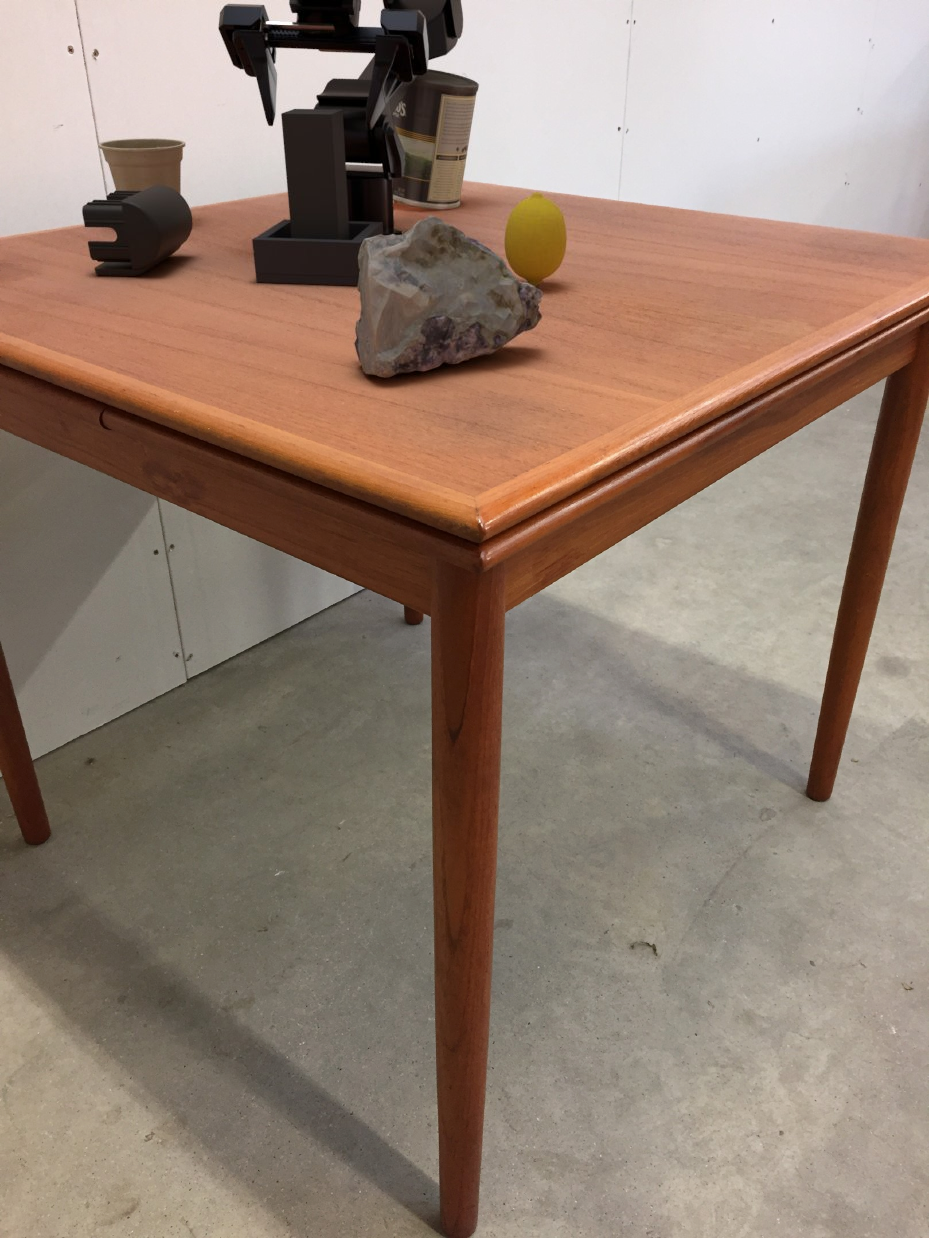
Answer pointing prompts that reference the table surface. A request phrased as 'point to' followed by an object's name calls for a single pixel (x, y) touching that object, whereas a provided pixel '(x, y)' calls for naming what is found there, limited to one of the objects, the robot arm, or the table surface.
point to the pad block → (316, 173)
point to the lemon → (535, 238)
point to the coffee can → (434, 139)
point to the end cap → (138, 229)
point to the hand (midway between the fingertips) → (318, 125)
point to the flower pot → (144, 163)
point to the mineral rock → (436, 300)
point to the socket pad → (310, 256)
